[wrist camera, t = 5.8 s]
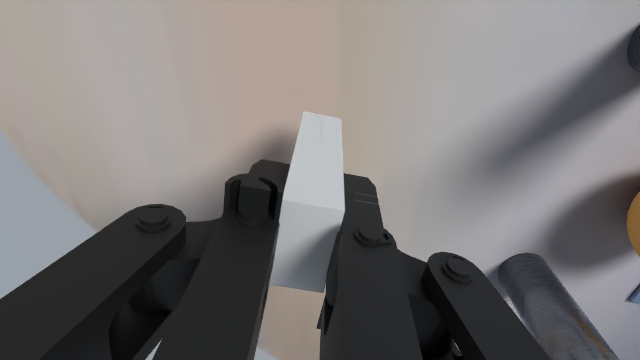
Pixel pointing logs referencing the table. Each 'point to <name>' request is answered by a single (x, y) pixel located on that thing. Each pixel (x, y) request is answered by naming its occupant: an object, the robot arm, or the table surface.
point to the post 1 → (551, 311)
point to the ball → (634, 223)
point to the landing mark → (636, 296)
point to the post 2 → (635, 50)
